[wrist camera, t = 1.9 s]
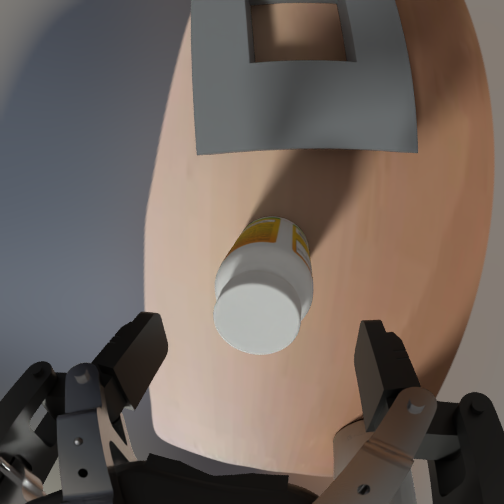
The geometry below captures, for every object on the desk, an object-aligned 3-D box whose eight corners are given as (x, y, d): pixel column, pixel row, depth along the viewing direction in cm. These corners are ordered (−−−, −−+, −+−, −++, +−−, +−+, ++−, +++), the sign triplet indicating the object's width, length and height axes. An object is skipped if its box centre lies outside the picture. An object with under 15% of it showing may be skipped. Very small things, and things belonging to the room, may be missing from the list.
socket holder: (401, 152, 17) (418, 152, 14) (210, 154, 19) (197, 155, 17) (367, -37, 11) (374, -54, 8) (203, -31, 13) (192, -48, 11)
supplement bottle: (228, 265, 22) (185, 339, 13) (253, 203, 20) (219, 245, 11) (290, 292, 22) (283, 379, 13) (321, 233, 20) (339, 298, 11)
